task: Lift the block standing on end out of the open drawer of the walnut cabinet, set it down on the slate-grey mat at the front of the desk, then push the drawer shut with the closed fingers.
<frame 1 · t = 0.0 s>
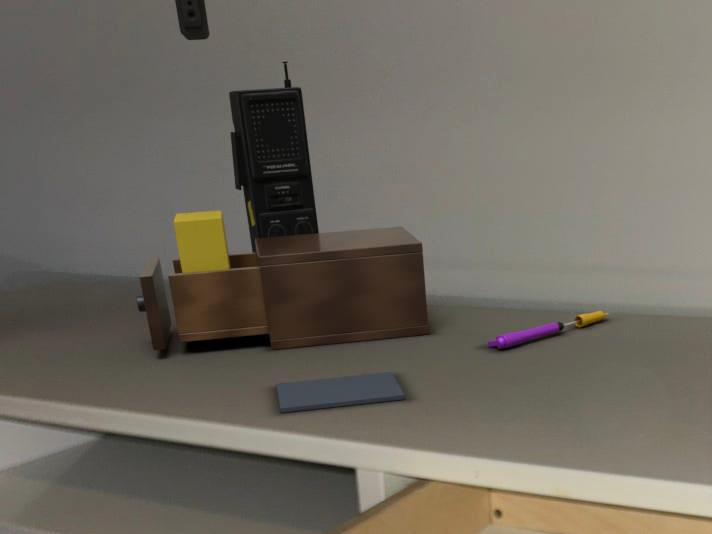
hand: (196, 38, 89), 27 cm above the table, tool pointing down, fingers open, 8 cm apart
block: (215, 320, 109), point 2 cm above the table, touching drawer
purple soldering iron: (549, 336, 105), on the table
portable radio: (290, 313, 122), on the table
cabinet: (344, 328, 112), on the table
drawer: (217, 296, 108), point 4 cm above the table, slide at 10.0 cm, touching block
mat: (339, 393, 89), on the table
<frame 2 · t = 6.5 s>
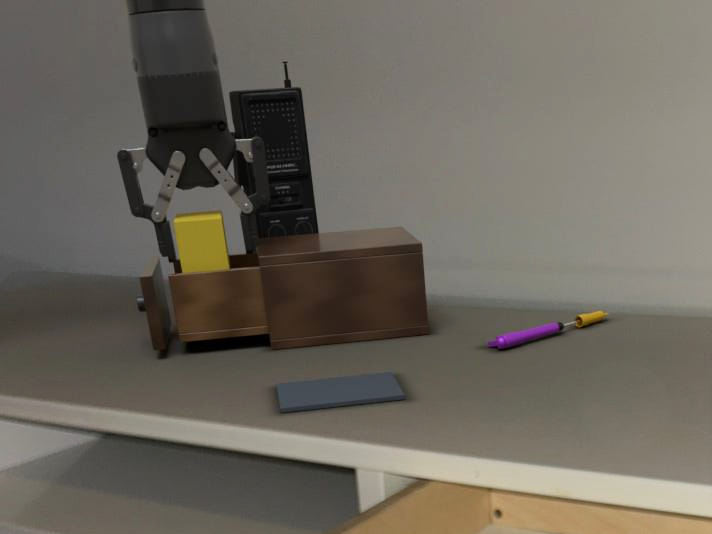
hand: (211, 256, 106), 8 cm above the table, tool pointing down, fingers open, 7 cm apart
nothing on the table moved.
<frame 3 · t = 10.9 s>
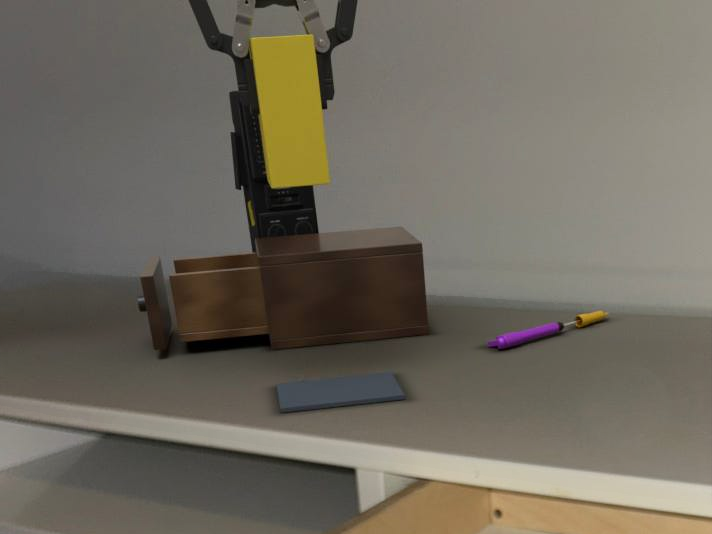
hand: (288, 110, 82), 21 cm above the table, tool pointing down, fingers closed on block, 4 cm apart
block: (298, 182, 84), point 16 cm above the table, touching gripper
drawer: (218, 296, 108), point 4 cm above the table, slide at 9.9 cm
everything else where it was.
when the fingers open (6 cm above the table, at t = 15.1 s): block stays where it is, resting on mat.
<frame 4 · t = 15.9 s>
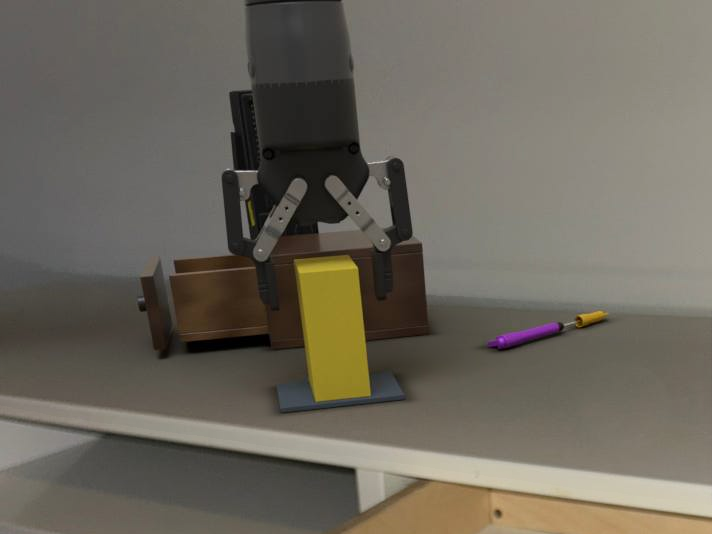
hand: (328, 304, 86), 7 cm above the table, tool pointing down, fingers open, 8 cm apart
block: (339, 388, 89), resting on mat
everything else where it was.
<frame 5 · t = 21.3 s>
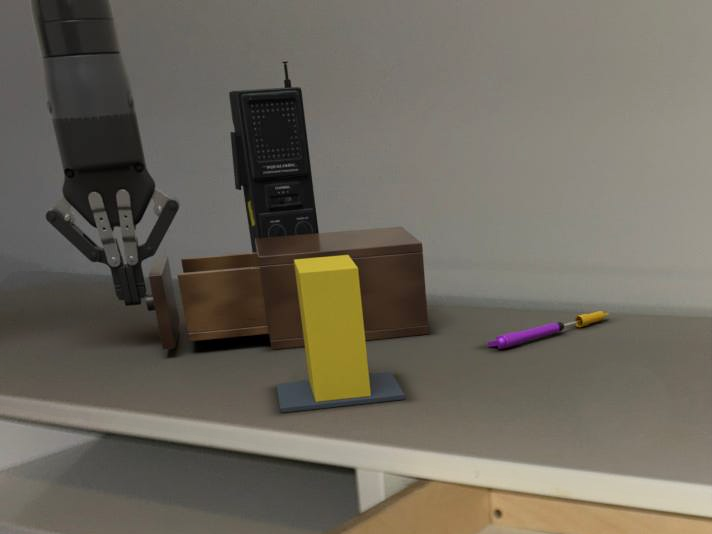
hand: (133, 303, 107), 4 cm above the table, tool pointing down, fingers closed
drawer: (226, 295, 108), point 4 cm above the table, slide at 9.1 cm, touching gripper
everything else where it was.
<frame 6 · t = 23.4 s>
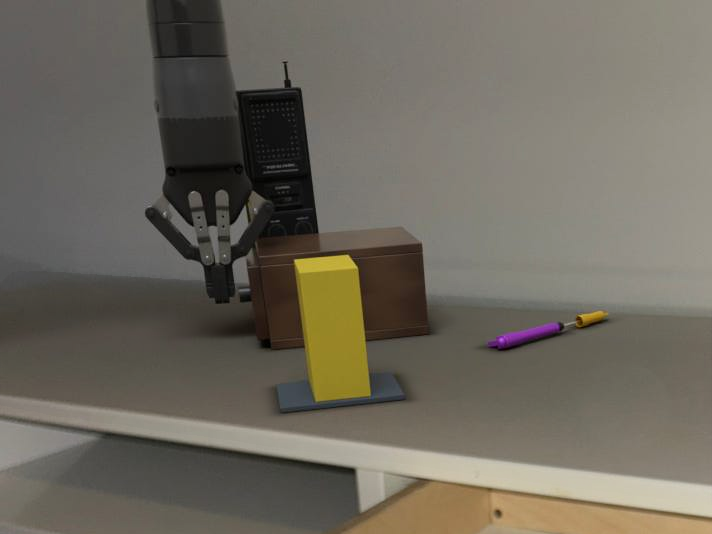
hand: (222, 302, 109), 4 cm above the table, tool pointing down, fingers closed
drawer: (316, 287, 110), point 4 cm above the table, slide at 0.0 cm, touching cabinet, gripper
everything else where it was.
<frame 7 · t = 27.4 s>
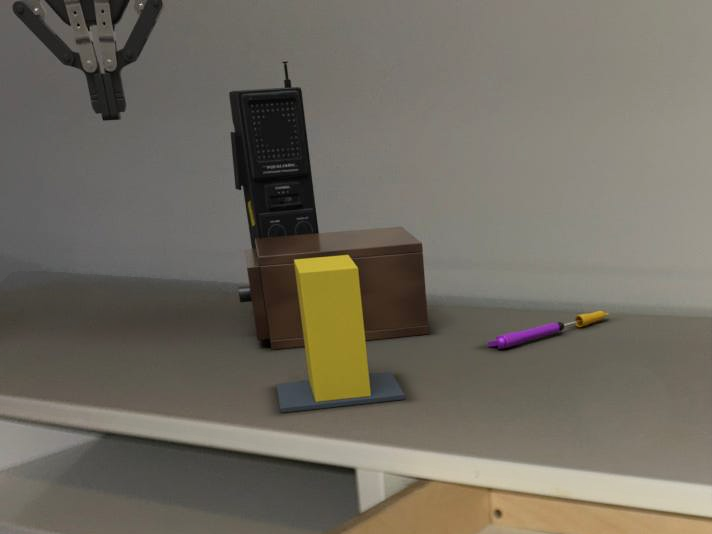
hand: (111, 119, 96), 21 cm above the table, tool pointing down, fingers closed
drawer: (316, 287, 110), point 4 cm above the table, slide at 0.0 cm
everything else where it was.
at the end: block inside the target area on the mat (0.1 cm from its centre), point 0.4 cm above the mat's base; the gripper is holding nothing; drawer slide at 0.0 cm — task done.
